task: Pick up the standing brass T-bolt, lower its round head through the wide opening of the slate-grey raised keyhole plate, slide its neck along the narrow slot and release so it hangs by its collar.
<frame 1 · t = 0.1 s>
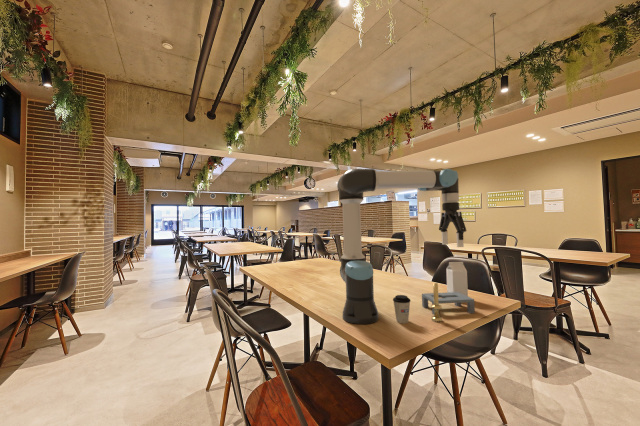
hand: (452, 245, 132), 28 cm above the table, fingers open, 13 cm apart
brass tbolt: (436, 320, 110), on the table
milk carton: (457, 299, 138), on the table
keyhole plate: (447, 309, 123), on the table
coffee cup: (402, 321, 110), on the table
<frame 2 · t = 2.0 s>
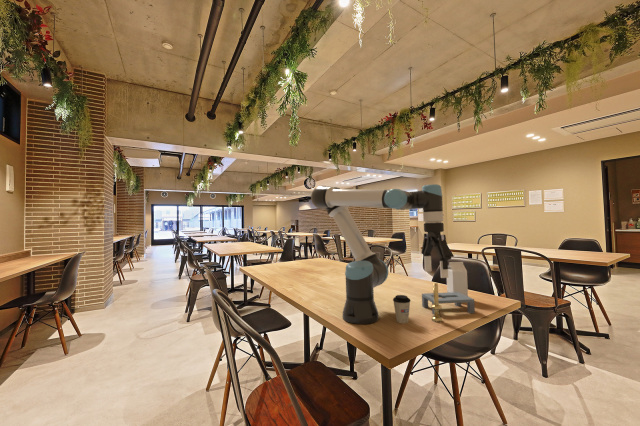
hand: (435, 274, 111), 19 cm above the table, fingers open, 13 cm apart
nothing on the table moved.
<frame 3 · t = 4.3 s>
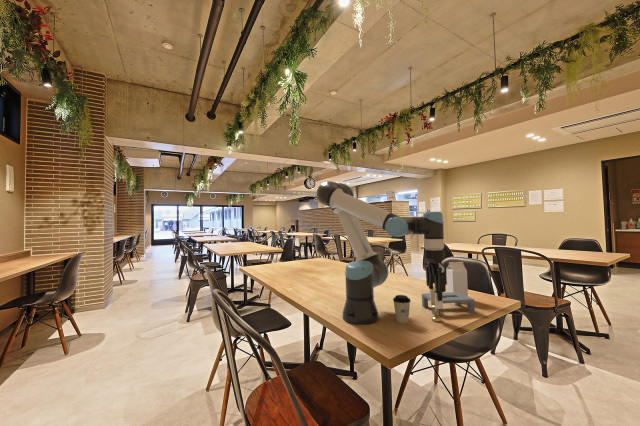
hand: (436, 306, 110), 6 cm above the table, fingers closed on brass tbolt, 4 cm apart
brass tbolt: (436, 320, 110), on the table, touching gripper
everything else where it was.
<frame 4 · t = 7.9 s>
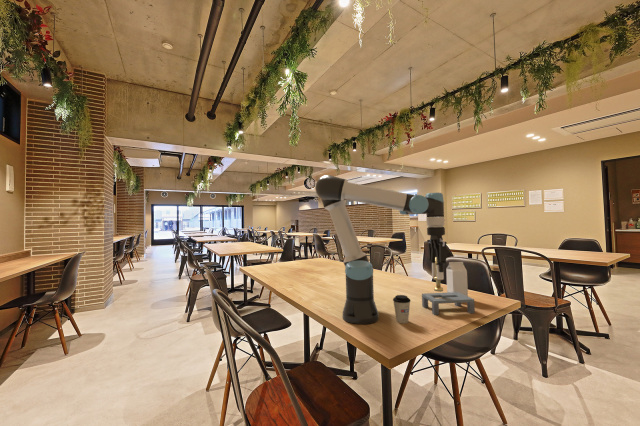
hand: (437, 278, 123), 14 cm above the table, fingers closed on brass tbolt, 4 cm apart
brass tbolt: (438, 290, 123), point 9 cm above the table, touching gripper
everything else where it was.
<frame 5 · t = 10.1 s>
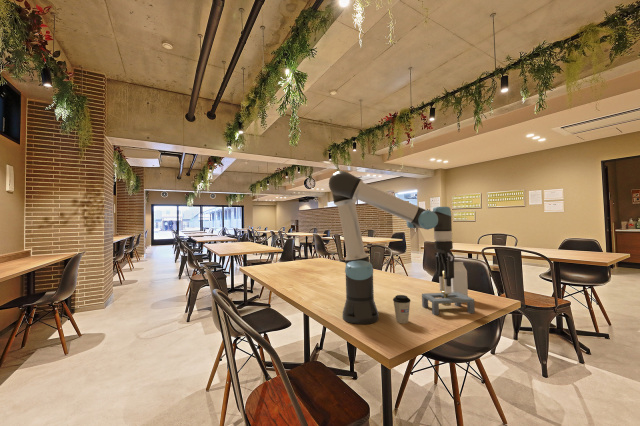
hand: (445, 291, 123), 8 cm above the table, fingers closed on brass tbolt, 4 cm apart
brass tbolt: (446, 304, 123), point 2 cm above the table, touching gripper
everything else where it was.
when the fingers open (8 cm above the table, at t = 11.7 s): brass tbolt drops 1 cm, resting on keyhole plate.
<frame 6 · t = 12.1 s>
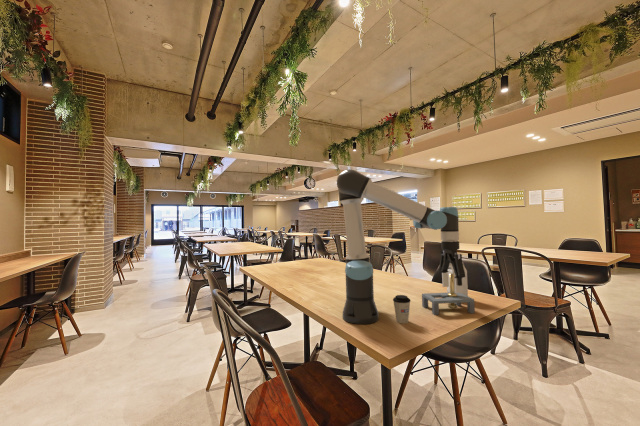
hand: (451, 289, 123), 9 cm above the table, fingers open, 10 cm apart
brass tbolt: (452, 307, 123), point 1 cm above the table, touching keyhole plate
everything else where it was.
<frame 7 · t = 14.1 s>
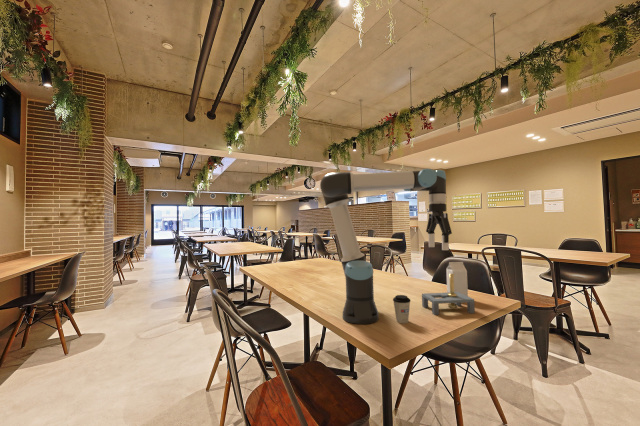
hand: (438, 248, 127), 27 cm above the table, fingers open, 13 cm apart
nothing on the table moved.
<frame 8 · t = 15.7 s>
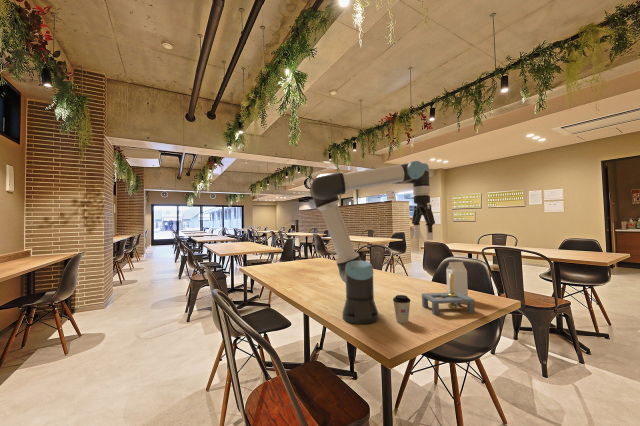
hand: (423, 238, 132), 32 cm above the table, fingers open, 13 cm apart
nothing on the table moved.
at the end: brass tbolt 0.2 cm from the target spot on the keyhole plate, point 1.0 cm above the keyhole plate's base; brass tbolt tilted 0°; the gripper is holding nothing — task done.
